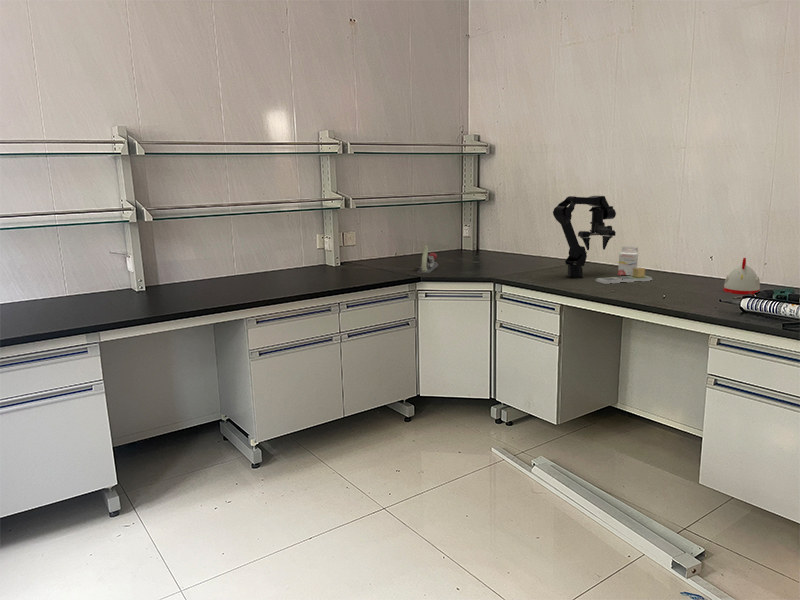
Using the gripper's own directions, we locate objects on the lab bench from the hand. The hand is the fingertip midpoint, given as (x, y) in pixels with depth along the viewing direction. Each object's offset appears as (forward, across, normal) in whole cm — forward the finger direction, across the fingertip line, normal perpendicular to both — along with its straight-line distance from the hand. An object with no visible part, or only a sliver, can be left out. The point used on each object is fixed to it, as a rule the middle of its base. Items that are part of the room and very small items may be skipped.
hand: (596, 249), depth 311 cm
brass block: (+13, +11, -22) cm, 28 cm away
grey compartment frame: (+13, +3, -22) cm, 26 cm away
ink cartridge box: (+13, +14, -8) cm, 21 cm away
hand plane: (+14, -78, +50) cm, 93 cm away
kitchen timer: (+13, +36, -61) cm, 72 cm away
